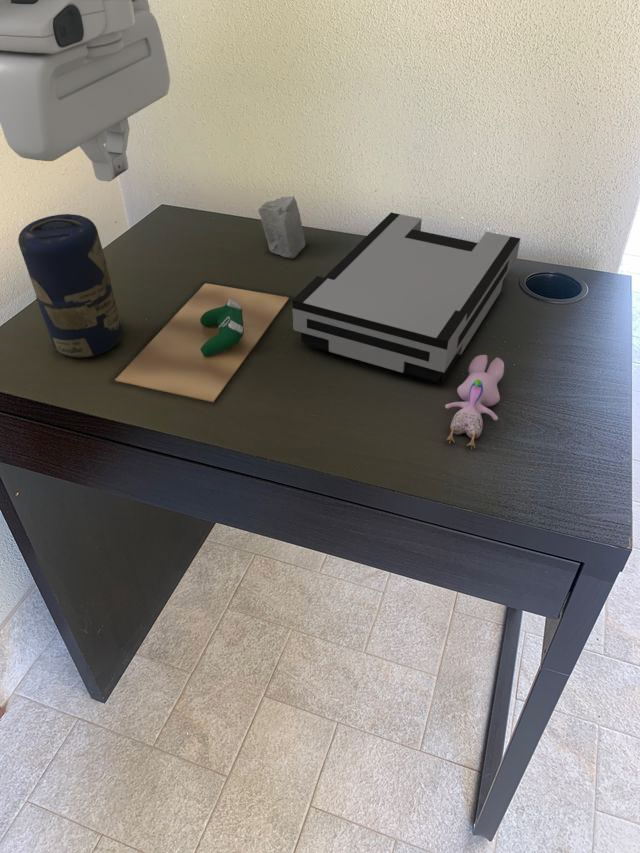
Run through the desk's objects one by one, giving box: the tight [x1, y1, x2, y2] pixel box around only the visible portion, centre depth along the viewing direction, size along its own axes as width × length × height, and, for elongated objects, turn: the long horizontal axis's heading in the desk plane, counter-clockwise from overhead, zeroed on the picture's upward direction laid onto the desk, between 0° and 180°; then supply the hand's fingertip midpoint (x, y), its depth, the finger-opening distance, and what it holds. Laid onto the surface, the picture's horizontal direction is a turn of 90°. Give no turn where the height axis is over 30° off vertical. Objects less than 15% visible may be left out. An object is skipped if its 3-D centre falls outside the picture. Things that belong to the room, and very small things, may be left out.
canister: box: [17, 213, 123, 358], centre depth 88 cm, size 10×10×18 cm
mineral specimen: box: [258, 195, 306, 260], centre depth 112 cm, size 7×9×8 cm
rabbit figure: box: [444, 354, 505, 450], centre depth 81 cm, size 6×6×15 cm
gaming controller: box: [200, 299, 244, 357], centre depth 93 cm, size 9×4×6 cm
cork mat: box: [114, 282, 290, 403], centre depth 95 cm, size 26×14×1 cm, turn 161°
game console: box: [291, 212, 521, 385], centre depth 96 cm, size 21×32×8 cm, turn 152°
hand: (112, 175), depth 64 cm, fingers closed
